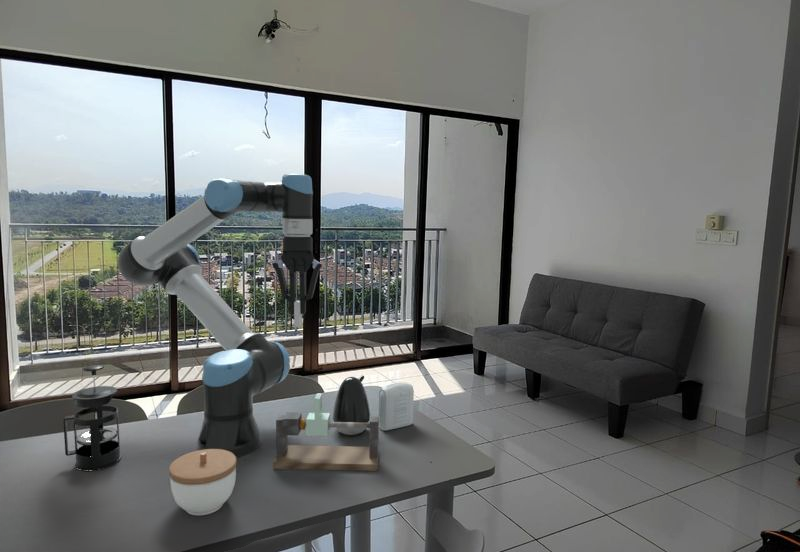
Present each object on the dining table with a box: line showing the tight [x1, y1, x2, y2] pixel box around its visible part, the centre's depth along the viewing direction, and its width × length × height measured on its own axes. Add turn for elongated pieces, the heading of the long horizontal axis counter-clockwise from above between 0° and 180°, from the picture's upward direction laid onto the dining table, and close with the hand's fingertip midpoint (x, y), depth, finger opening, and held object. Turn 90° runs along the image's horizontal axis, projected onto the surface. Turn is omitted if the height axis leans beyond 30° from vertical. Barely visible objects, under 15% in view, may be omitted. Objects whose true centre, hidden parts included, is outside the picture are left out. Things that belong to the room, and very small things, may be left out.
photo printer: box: [378, 381, 415, 432], centre depth 144 cm, size 10×4×12 cm, turn 123°
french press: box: [62, 364, 122, 472], centre depth 120 cm, size 12×9×23 cm
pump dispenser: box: [332, 374, 371, 436], centre depth 140 cm, size 10×10×15 cm
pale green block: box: [305, 392, 331, 437], centre depth 123 cm, size 5×4×9 cm
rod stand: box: [272, 411, 380, 472], centre depth 124 cm, size 24×9×11 cm, turn 90°
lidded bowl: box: [168, 449, 237, 517], centre depth 104 cm, size 13×13×11 cm
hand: (298, 325), depth 136 cm, fingers closed
